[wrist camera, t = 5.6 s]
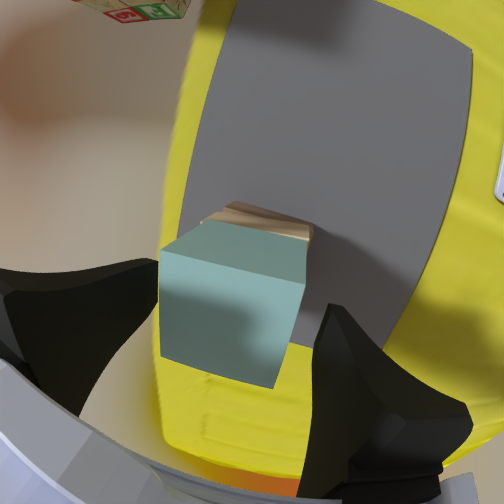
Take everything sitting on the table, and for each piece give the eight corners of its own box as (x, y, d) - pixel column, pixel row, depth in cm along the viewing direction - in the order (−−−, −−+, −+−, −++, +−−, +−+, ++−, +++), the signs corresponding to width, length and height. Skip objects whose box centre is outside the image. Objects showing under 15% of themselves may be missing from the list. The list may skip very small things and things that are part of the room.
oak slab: (308, 225, 14) (309, 238, 12) (293, 307, 16) (290, 332, 13) (216, 211, 15) (200, 221, 12) (211, 292, 16) (197, 313, 14)
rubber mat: (470, 50, 10) (471, 49, 10) (372, 360, 19) (372, 362, 19) (248, -22, 11) (247, -24, 11) (170, 299, 21) (168, 301, 20)
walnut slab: (312, 222, 16) (313, 233, 14) (289, 292, 18) (286, 311, 16) (235, 200, 17) (223, 206, 15) (219, 270, 19) (207, 286, 16)
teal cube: (306, 240, 12) (305, 284, 8) (284, 324, 13) (273, 389, 9) (208, 219, 12) (159, 250, 8) (199, 303, 14) (160, 356, 10)
